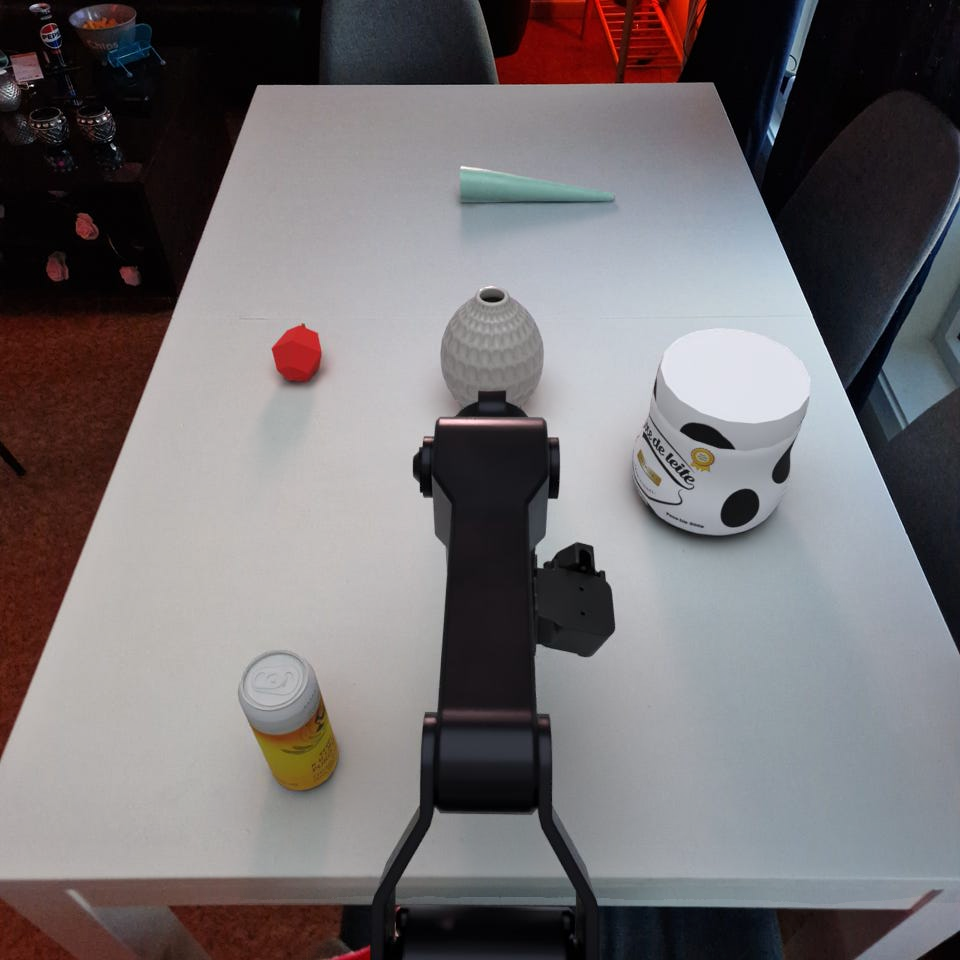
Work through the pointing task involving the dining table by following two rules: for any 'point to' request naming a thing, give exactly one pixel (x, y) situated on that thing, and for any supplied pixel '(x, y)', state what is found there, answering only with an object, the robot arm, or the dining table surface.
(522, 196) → the long green cone
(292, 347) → the apple
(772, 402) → the milk container
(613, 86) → the dining table surface
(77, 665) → the dining table surface
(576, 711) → the dining table surface
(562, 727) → the dining table surface
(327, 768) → the beer can
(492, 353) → the vase
